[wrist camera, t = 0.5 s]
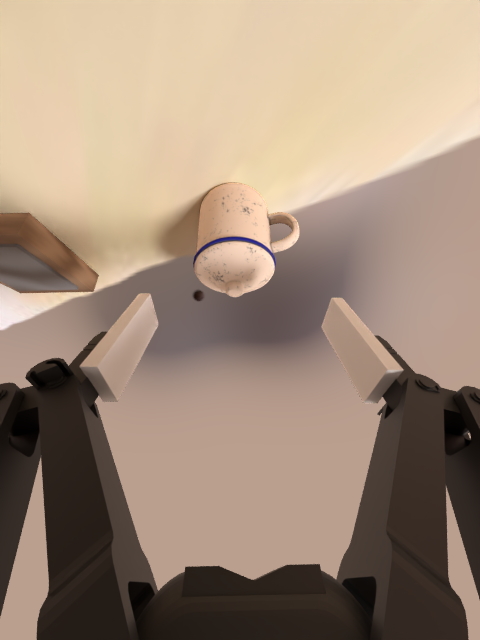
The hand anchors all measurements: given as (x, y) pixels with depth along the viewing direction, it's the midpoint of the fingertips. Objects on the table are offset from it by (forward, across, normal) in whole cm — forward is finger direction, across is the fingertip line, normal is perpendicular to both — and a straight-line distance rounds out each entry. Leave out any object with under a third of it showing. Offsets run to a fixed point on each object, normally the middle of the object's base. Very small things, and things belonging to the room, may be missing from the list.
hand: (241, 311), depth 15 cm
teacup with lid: (+16, 0, +5) cm, 17 cm away
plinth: (+19, -33, -2) cm, 38 cm away
